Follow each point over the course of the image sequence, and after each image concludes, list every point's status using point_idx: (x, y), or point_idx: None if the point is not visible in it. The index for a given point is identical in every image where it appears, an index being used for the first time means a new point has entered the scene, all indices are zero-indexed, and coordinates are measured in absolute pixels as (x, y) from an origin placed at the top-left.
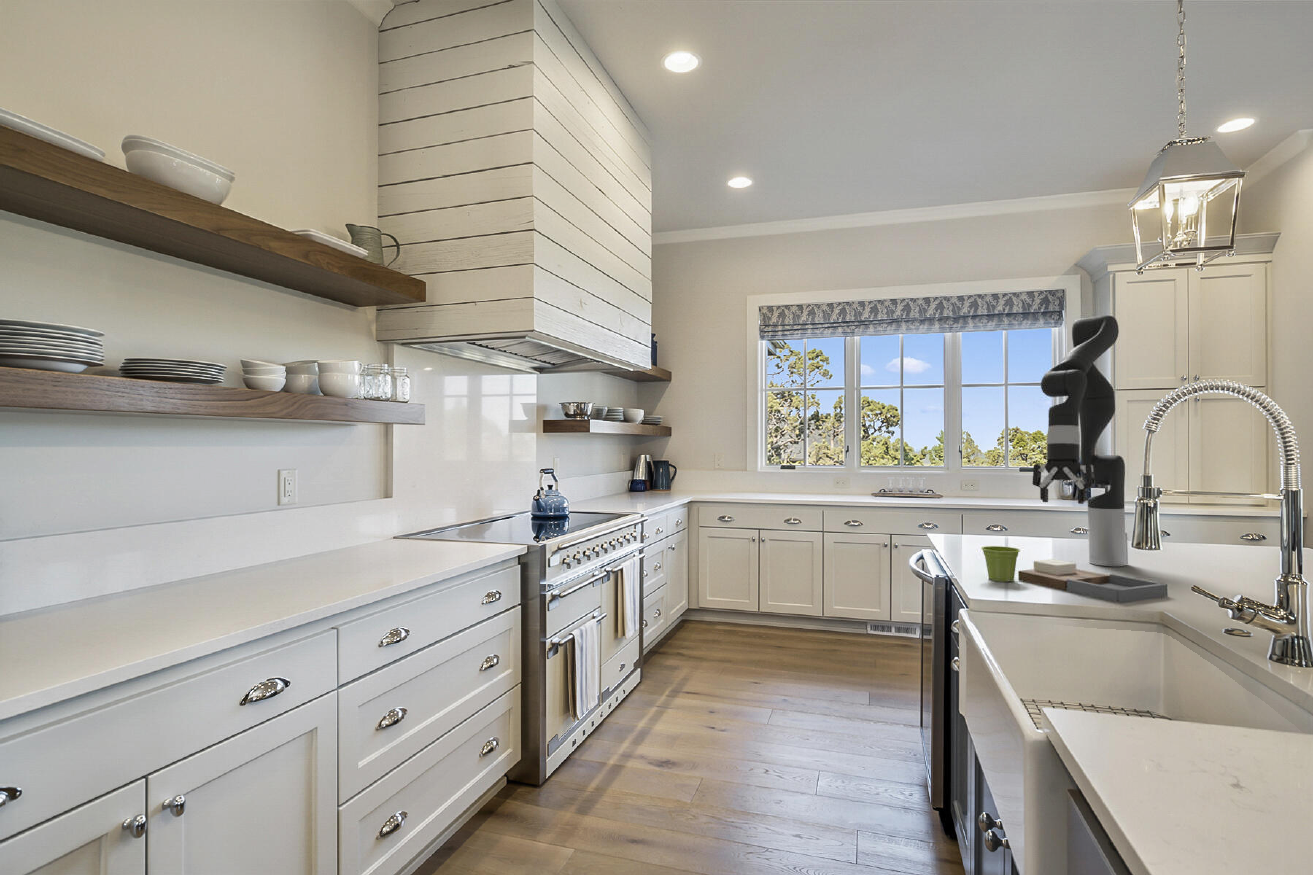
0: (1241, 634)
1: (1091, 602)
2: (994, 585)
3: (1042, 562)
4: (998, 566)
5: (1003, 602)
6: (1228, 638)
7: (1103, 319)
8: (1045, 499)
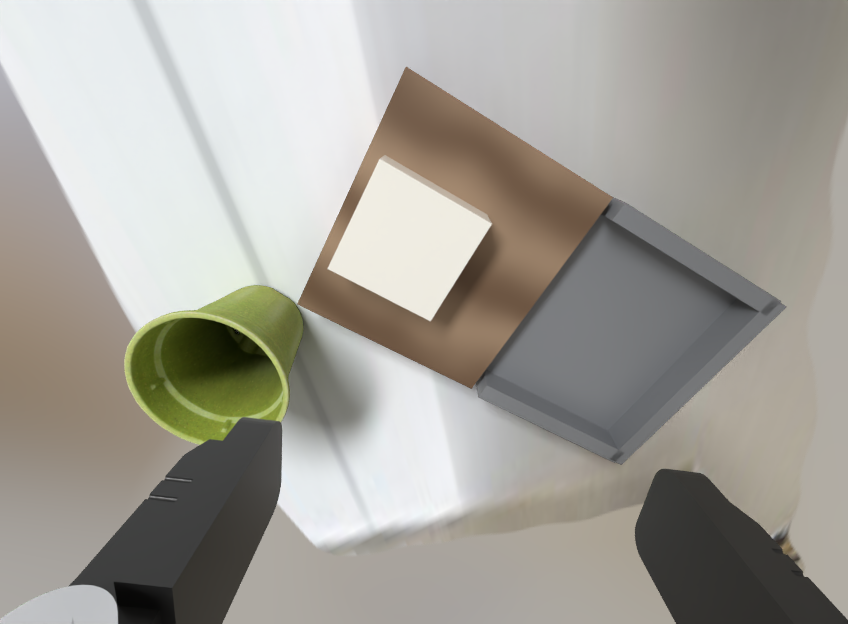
0: (790, 554)
1: (542, 462)
2: None
3: (366, 281)
4: (254, 391)
5: (374, 546)
6: None
7: None
8: (267, 513)
